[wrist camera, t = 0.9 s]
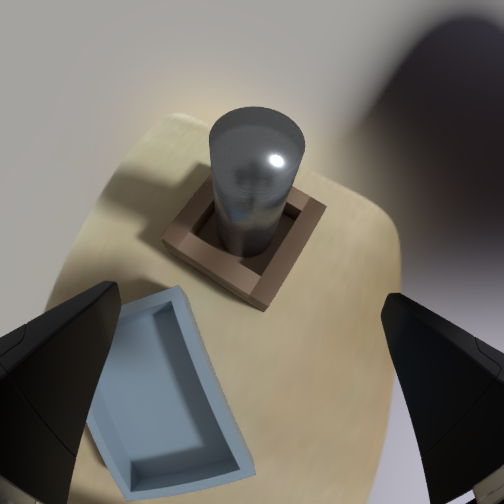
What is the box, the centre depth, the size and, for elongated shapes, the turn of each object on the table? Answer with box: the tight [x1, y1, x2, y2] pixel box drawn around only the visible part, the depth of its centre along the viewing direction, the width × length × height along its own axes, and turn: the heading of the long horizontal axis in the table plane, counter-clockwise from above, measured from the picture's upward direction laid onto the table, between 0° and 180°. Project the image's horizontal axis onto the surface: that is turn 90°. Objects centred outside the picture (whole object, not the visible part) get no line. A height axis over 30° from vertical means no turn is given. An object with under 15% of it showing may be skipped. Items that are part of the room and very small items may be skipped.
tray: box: [86, 285, 256, 501], centre depth 17 cm, size 14×10×4 cm
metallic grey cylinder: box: [209, 107, 305, 258], centre depth 18 cm, size 4×4×11 cm
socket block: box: [161, 174, 327, 312], centre depth 22 cm, size 9×9×3 cm
